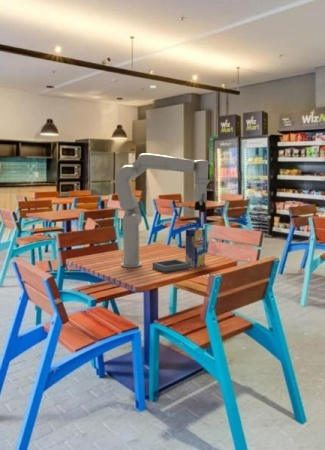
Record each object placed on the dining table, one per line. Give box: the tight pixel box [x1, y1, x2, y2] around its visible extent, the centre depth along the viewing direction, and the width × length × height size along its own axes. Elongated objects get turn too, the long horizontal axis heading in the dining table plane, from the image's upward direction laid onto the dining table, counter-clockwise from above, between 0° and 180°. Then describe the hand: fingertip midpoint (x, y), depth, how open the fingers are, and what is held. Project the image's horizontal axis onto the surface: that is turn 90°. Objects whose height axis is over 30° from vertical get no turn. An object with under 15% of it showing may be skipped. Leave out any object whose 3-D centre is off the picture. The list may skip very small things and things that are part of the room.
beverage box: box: [185, 227, 206, 268], centre depth 255 cm, size 7×11×22 cm, turn 143°
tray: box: [152, 259, 190, 274], centre depth 246 cm, size 13×17×4 cm
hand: (200, 211), depth 245 cm, fingers open, 9 cm apart
